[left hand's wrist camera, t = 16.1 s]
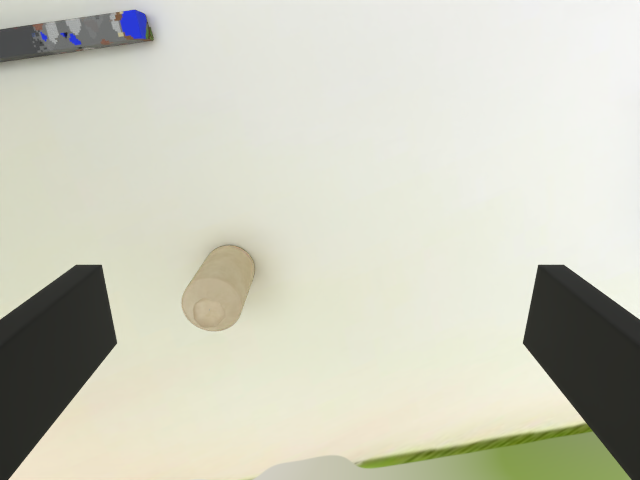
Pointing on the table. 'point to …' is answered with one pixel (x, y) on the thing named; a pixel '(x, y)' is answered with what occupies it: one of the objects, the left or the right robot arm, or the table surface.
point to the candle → (219, 289)
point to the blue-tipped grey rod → (74, 35)
